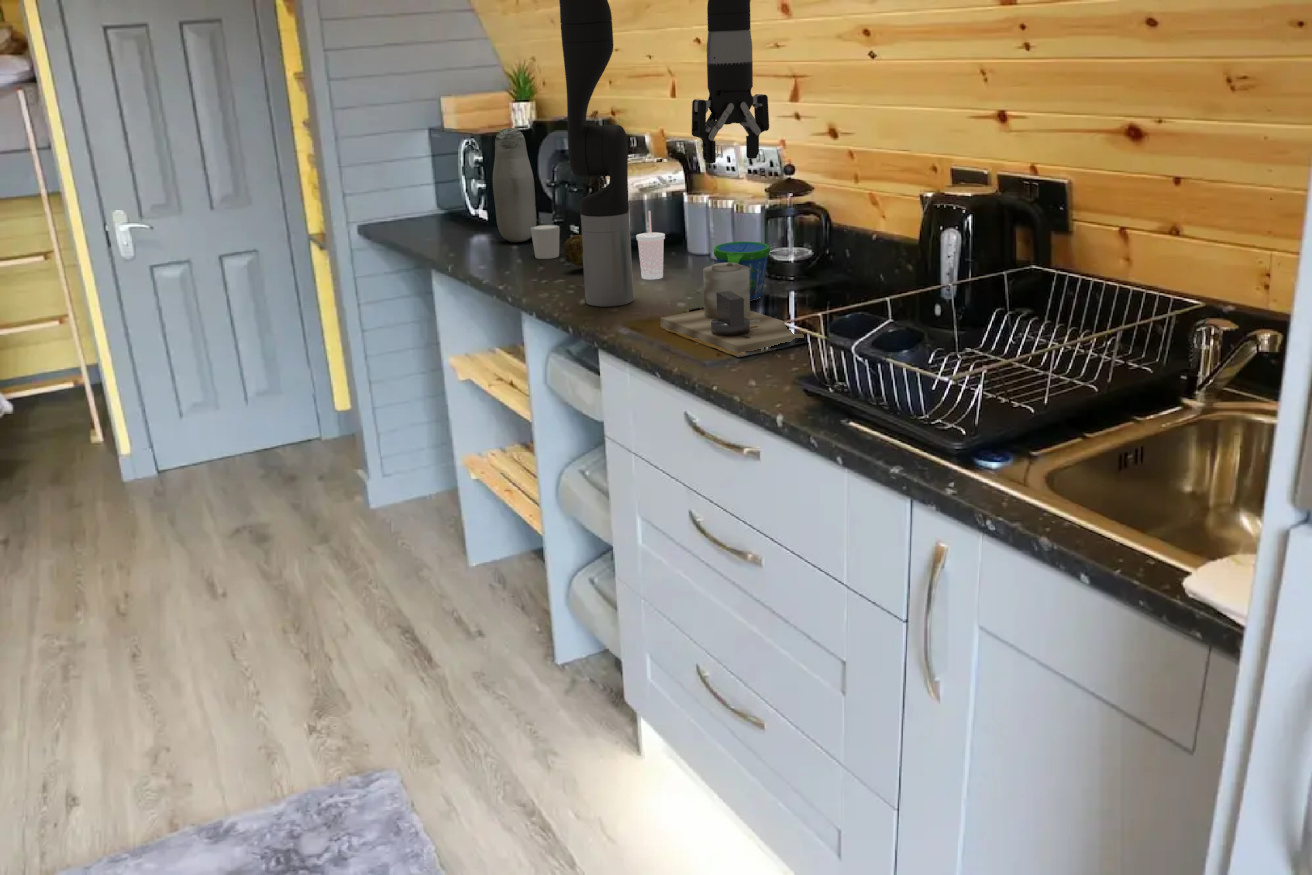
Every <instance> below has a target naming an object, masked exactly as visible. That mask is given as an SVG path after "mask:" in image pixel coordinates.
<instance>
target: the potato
mask: <svg viewBox="0 0 1312 875" xmlns="http://www.w3.org/2000/svg"><path fill="white" fill-rule="evenodd" d="M563 251H564V255H565V261H566V262H568V263H569V262H570V263H572V264H574V265H575V266H578V267H583V242H582V234H575V235H572V236H571V237H568V238H567V239H565V242H564V243H563Z"/></svg>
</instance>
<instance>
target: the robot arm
mask: <svg viewBox="0 0 1312 875" xmlns="http://www.w3.org/2000/svg"><path fill="white" fill-rule="evenodd" d="M558 1H559V17H560V20H559V21H560V22H559V23H560V34H561V36H560V37H561V46H562V53H563V64H564V73H565V83H566V84H565V85H566V87H565V88H566V106H567V107H566V108H567V151H568V153H567V154H568V160H569V161H568V162H569V166H570V170H571V172H572V173H573V175H574V176H576V177H582V178H583V177H586V178H587V177H592V178H593V177H609V182H608V184H607V185H606V186H605V187H603V188H602V189H600V190H598V191H597V192H594V193H591V194H588V195H586V196H584V197H582V198H581V200H580V202H579V210H580V223H581V235H582V242H583V266H582V269H583V283H584V284H583V285H584V298H585V302H586V304H587V305H589V306H594V307H595V306H596V307H617V306H624V305H627V304H630V303H632V302H634V286H633V285H634V284H633V280H634V279H633V264H632V262H633V261H632V245H631V244H632V241H631V228H630V226H631V225H630V206H629V177H628V176H629V173H628V172H629V171H628V170H629V168H628V167H629V160H628V159H629V158H628V157H629V154H628V153H629V146H628V138H627V133H626V130H625V128H624V127H623V126H622V125H619V124H604V125H602V124H601V125H599V124H598V125H587V115H588V114H587V112H588V107H589V104H590V100H591V99H592V96H593V93H594V91H595V89H596V87H597V85H598V83H599V81H600V79H601V77H602V76H603V74H604V72H605V70H606V68H607V66H608V64H609V62H610V60H611V58H612V56H613V55H612V54H613V52H614V32H613V31H614V30H613V17H612V11H611V10H612V9H611V6H610V3H609V1H608V0H558ZM706 8H707V9H706V11H707V18H706V19H707V40H706V72H707V73H706V74H707V79H706V80H707V81H706V82H707V91H708V93H709V94H708V98H707V100H705V99H698V98H697V99H695V98H694V99H693V100H692V102H691V136H693V137H696V138H698V139H700V140H701V141H702V158H703V160H704V161H705V163H706V164H716V161H717V156H716V155H717V154H716V140H715V138H716V136H717V134H718V132H719V131H720V130H722V128H723V127H724V125H726V126H727V125H732V124H739V125H740V126H742V128H743V129H744V131H745V133H746V134H747V135H746V136H745V139H746V141H745V142H746V143H745V144H746V145H745V146H746V148H745V149H746V150H745V151H746V153H745V156H746V158H747V159H750V160H756V159H757V158H758V155H759V153H760V135H761V134H762V133H764V132H768V131H769V129H770V115H769V114H770V113H769V98H768V95H767V94H763V93H762V94H761V93H759V94H757V93H755V94H754V95H753V94H752V88H754V87H753V83H754V78H753V76H754V75H753V62H754V61H753V40H752V33H751V32H752V30H751V0H707V7H706ZM751 107H753V108H754V109H753V110H754V111H753V112H754V116H753V113H752V112H751ZM709 111H710V114H709V116H708V117H707V113H708V112H709Z"/></svg>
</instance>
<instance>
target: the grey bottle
mask: <svg viewBox="0 0 1312 875" xmlns="http://www.w3.org/2000/svg"><path fill="white" fill-rule="evenodd" d="M495 136H496V137H495V141H494V163H493V170H492V188H493V189H492V190H493V198H494V200H493V201H494V207H495V216H496V225H497V228H498V229H497V230H498V231H499V233H500V235H501V236H502V238H503V239H505V240H506V241H508V242H510V243H521V242H523V243H524V242H526V241H528V240H530V239H531V238H532V235H531V229H530V228H531V227H534V226H537V205H536V192H535V178H534V173H533V169H532V166H531V162H530V159H529V156H528V155H529V154H528V150H527V144H526V139H525V136H524V134H523V133H522V132H521V131H520V130H519V129H518V128H513V127H511V128H510V127H509V128H503V129H500V131H499V132H497V134H496V135H495Z"/></svg>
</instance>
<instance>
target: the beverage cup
mask: <svg viewBox="0 0 1312 875" xmlns="http://www.w3.org/2000/svg"><path fill="white" fill-rule="evenodd" d="M647 211H648V232H643V233H638V234H636V235H635V238H636V241H637V246H638V256H639V264H640V274H641V279H643V280H659V279H662V278H664V240H665V239H666V234H665V233H664V232H653V231H652V211H651V210H647Z"/></svg>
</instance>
